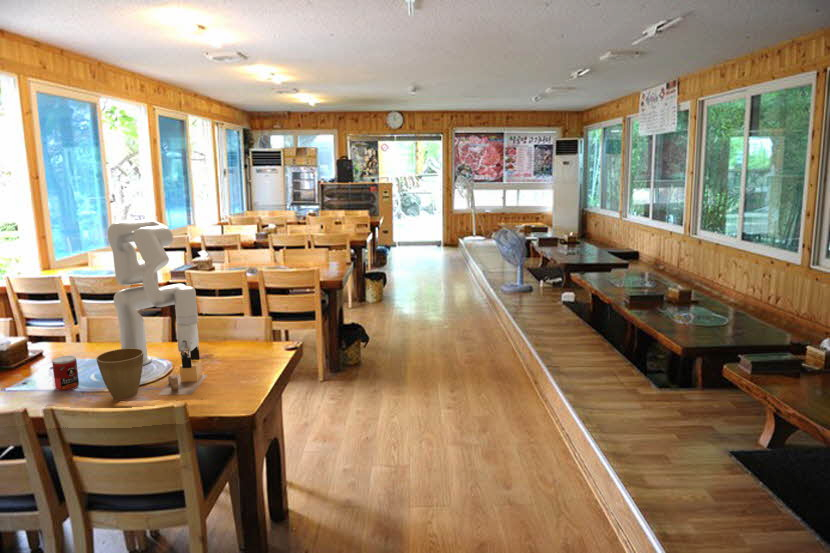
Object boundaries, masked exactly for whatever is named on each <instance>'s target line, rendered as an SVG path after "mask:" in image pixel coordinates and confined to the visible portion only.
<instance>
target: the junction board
mask: <svg viewBox="0 0 830 553" xmlns="http://www.w3.org/2000/svg"><path fill="white" fill-rule="evenodd" d="M207 377H208V374H202V376H201V377H200V379H199V380H198V381H185V382H181V376H180V374H178V375H177V374H176V375H175V374H170V375H168V376H167V380H168V383H167V384H165V385H166V386H164V387H163V388H162V389H161V390H160V392H158V394H157V396H179V395H180V396H182V395H184V396H185V395H193V393H194V392H195V391H196V390H197V389H198V387H199V386H200V385H201V384H202V382H204V381H205V379H206V378H207Z"/></svg>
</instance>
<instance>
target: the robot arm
mask: <svg viewBox="0 0 830 553" xmlns="http://www.w3.org/2000/svg"><path fill="white" fill-rule="evenodd" d="M107 240H108V243H109V245H110V248H111V250H112V255H113V256H112V257H113V265H114V267H113V268H114V275H115V279H116V283H117V284H118V285H120V286H133V285H137V284H138V285H139V284H142V285H140V286H133V287H128V288H122V289H121V290H118V291H116V292H115V294H114V296H113V303H114V307H115V310H116V314H117V318H118V327H119V328H118V330H119V338H120V347H121V348H120V349H125V348H137V349H141V350H143V366H144V365H147V364H149V363H151V362H152V361H153V359H152V358H153V357H152V356H151V355H148V348H147V339H146V338H147V337H146V336H147V335H146V326H145V319H144V318H143V316H142V315H141V314H140V313H139V312H138V311H140V310H144V309H148V308H149V309H150V308H153V307H156V308H165V307H167V306H169V307H170V306H174V309H175V310H174V311H175V317H176V318H175V321H176V325H177V347H178V348H177V349H178V352H179V353H180V358H181V365H182V368H191V367H192V365H191V361H200V358H201V357H200V356H201V355H200V346H199V343H200V339H199V331H198V330H199V329H198V323H199V317H198V316H199V315H198V303H197V295H196V294H197V293H196V289H195V287H193V286H190V285H189V286H187V285H186V284H184V283H174V284H173V283H172V284H169V285H162V286H159V278H158V277H159V276H158V271H160V270H161V269H163V268H164V267H166V265H167V264H168V263H169V261H170V259H169V256H168V254H167V252H166V250H165V249H164V247H169V246H171V244H172V243H173V241H174V236H173V233H172V231H171V229H170V228H169V227H168V226H167V225H165V224H163V223H161V222H158V221H156V220H153V219H137V220H135V219H134V220H124V221H116V222H113V223H111V224H110V225H109V227H108V228H107ZM132 243H134V244H135V246H136V248H137V250H136V248H135V247H134V245H133V244H132ZM137 251H138V252H139V254H140V257H141V259H140V260H138V256H137Z"/></svg>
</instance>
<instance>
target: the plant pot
mask: <svg viewBox="0 0 830 553" xmlns="http://www.w3.org/2000/svg"><path fill="white" fill-rule="evenodd" d="M95 361H96V362H97V367H98V369H99V373H100V375H101V377H102V381H103V382H104V384H105V387H106V389H107V390H108V392H109V394H110V395H111V397H112V399H113V400H114V401H117V402H125V401H127V399H126V400H123V398H129V397H132V396H135V395H136V394H137V393H138V392H139V389H140V384H141V378H142V373H143V366H144V365H143V350H141V349H137V348H125V349H121V348H118V349H113V350H109V351H106V352H103V353H100V354H99V355H98V356H96V358H95ZM117 399H119V400H117ZM120 399H121V400H120Z"/></svg>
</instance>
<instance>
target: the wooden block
mask: <svg viewBox="0 0 830 553" xmlns="http://www.w3.org/2000/svg"><path fill="white" fill-rule="evenodd" d="M191 365H192V367H191V368H182V364H180V366H179V375H180V376H181V382H185V381H198V380H199V379H200V377H201V376H202V375H203V371H202V360H191Z"/></svg>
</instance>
